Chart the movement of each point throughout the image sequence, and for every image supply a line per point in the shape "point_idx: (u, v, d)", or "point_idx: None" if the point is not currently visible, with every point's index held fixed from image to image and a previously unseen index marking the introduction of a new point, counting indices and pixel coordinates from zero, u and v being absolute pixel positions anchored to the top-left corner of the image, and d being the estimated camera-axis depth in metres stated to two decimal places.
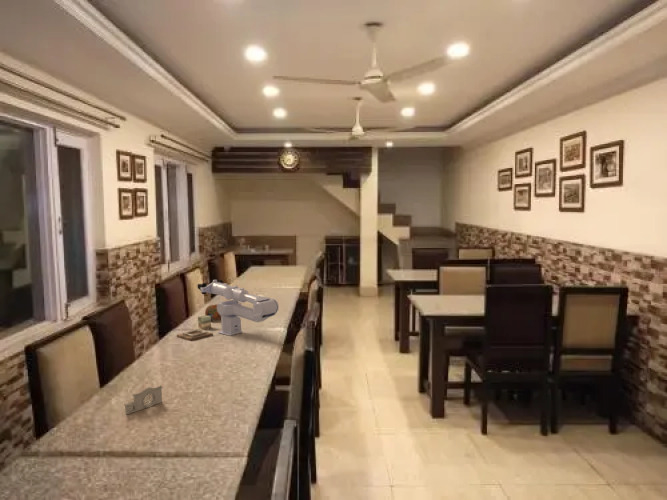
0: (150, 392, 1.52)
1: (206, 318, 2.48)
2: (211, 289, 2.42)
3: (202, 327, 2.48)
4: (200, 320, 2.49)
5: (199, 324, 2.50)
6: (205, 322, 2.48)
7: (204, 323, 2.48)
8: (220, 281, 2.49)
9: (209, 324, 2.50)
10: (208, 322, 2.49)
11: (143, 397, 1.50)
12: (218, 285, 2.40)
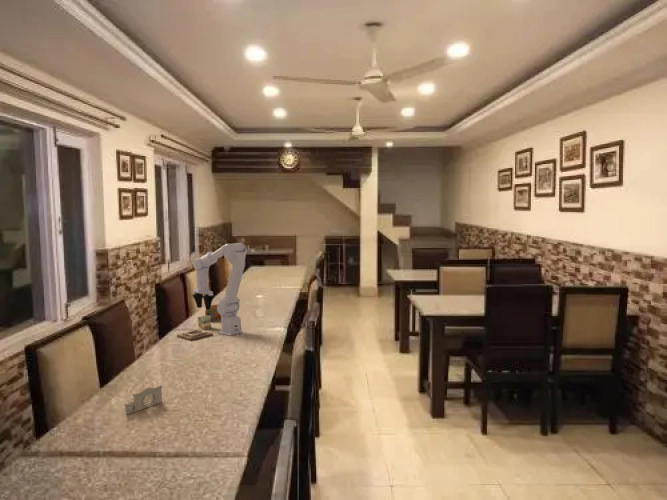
0: (150, 392, 1.52)
1: (206, 318, 2.48)
2: (206, 289, 2.47)
3: (202, 327, 2.48)
4: (200, 320, 2.49)
5: (199, 324, 2.50)
6: (205, 322, 2.48)
7: (204, 323, 2.48)
8: (194, 294, 2.51)
9: (209, 324, 2.50)
10: (208, 322, 2.49)
11: (143, 397, 1.50)
12: None
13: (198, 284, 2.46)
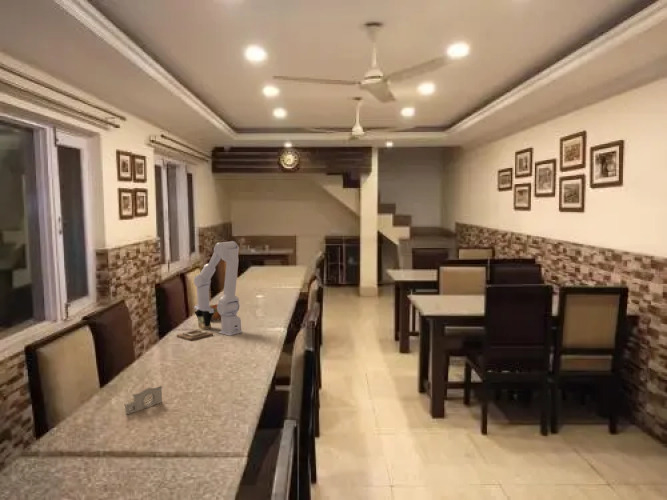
0: (150, 392, 1.52)
1: None
2: (207, 306, 2.48)
3: (202, 327, 2.48)
4: (200, 320, 2.49)
5: (199, 324, 2.49)
6: None
7: (204, 323, 2.48)
8: (196, 311, 2.51)
9: None
10: None
11: (143, 397, 1.50)
12: None
13: (199, 301, 2.47)
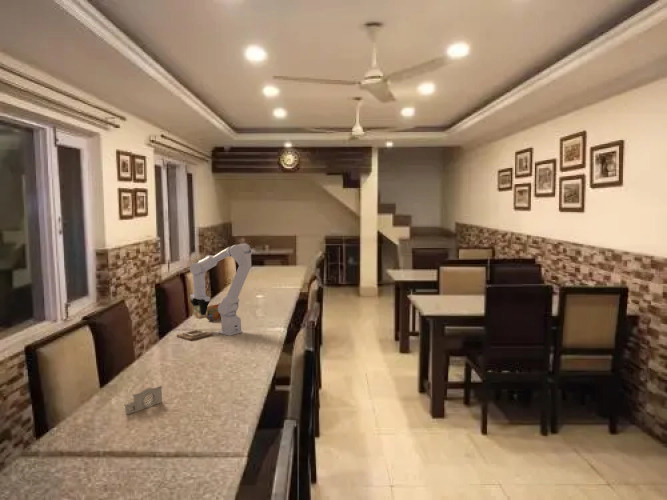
0: (150, 392, 1.52)
1: None
2: (203, 294, 2.42)
3: (198, 316, 2.42)
4: (196, 309, 2.42)
5: (195, 313, 2.43)
6: None
7: (200, 312, 2.42)
8: (192, 300, 2.44)
9: None
10: None
11: (143, 397, 1.50)
12: (193, 286, 2.42)
13: (195, 289, 2.41)
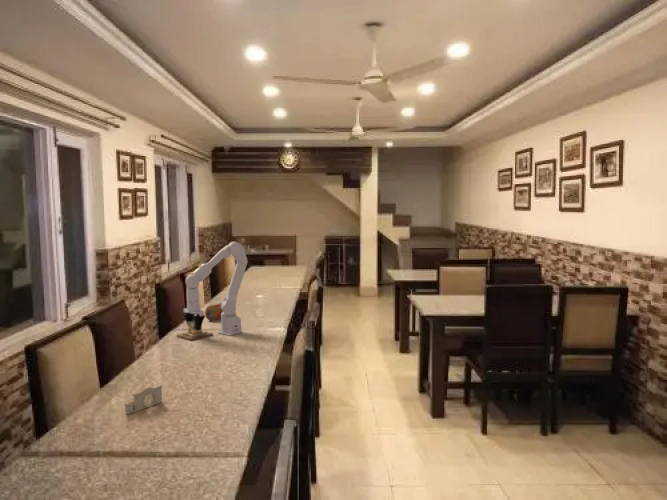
0: (150, 392, 1.52)
1: None
2: (197, 309, 2.32)
3: (192, 333, 2.32)
4: (190, 325, 2.33)
5: (189, 330, 2.34)
6: (195, 328, 2.33)
7: (194, 329, 2.32)
8: (184, 314, 2.35)
9: (200, 330, 2.34)
10: None
11: (143, 397, 1.50)
12: (188, 300, 2.31)
13: (188, 303, 2.31)
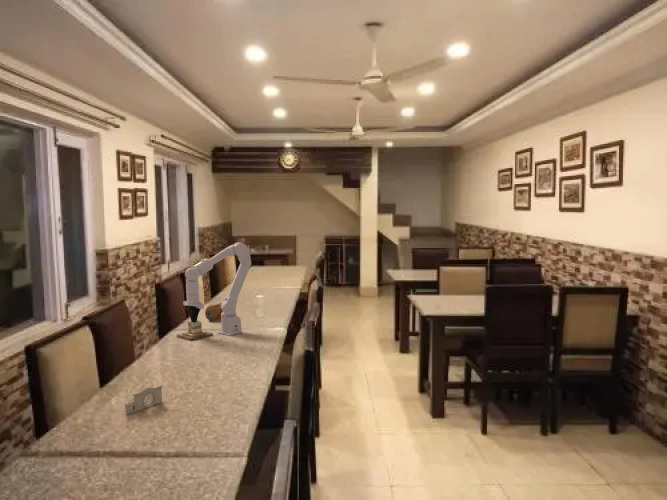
0: (150, 392, 1.52)
1: (196, 323, 2.33)
2: (196, 301, 2.32)
3: (192, 333, 2.32)
4: (190, 325, 2.33)
5: (189, 330, 2.34)
6: (195, 328, 2.33)
7: (194, 329, 2.32)
8: (188, 308, 2.33)
9: (200, 330, 2.34)
10: (199, 328, 2.34)
11: (143, 397, 1.50)
12: (187, 293, 2.31)
13: (188, 296, 2.31)
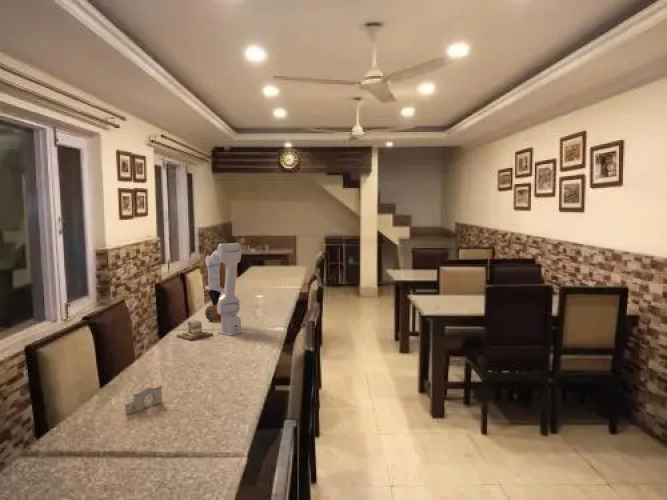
0: (150, 392, 1.52)
1: (196, 323, 2.33)
2: (217, 286, 2.53)
3: (192, 333, 2.32)
4: (190, 325, 2.33)
5: (189, 330, 2.34)
6: (195, 328, 2.33)
7: (194, 329, 2.32)
8: (209, 292, 2.54)
9: (200, 330, 2.34)
10: (199, 328, 2.34)
11: (143, 397, 1.50)
12: None
13: (210, 281, 2.52)
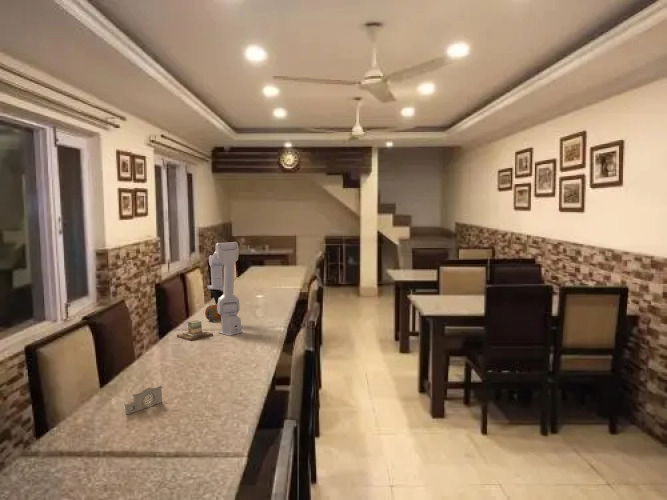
0: (150, 392, 1.52)
1: (196, 323, 2.33)
2: (220, 285, 2.56)
3: (192, 333, 2.32)
4: (190, 325, 2.33)
5: (189, 330, 2.34)
6: (195, 328, 2.33)
7: (194, 329, 2.32)
8: (212, 291, 2.57)
9: (200, 330, 2.34)
10: (199, 328, 2.34)
11: (143, 397, 1.50)
12: None
13: (213, 280, 2.55)
